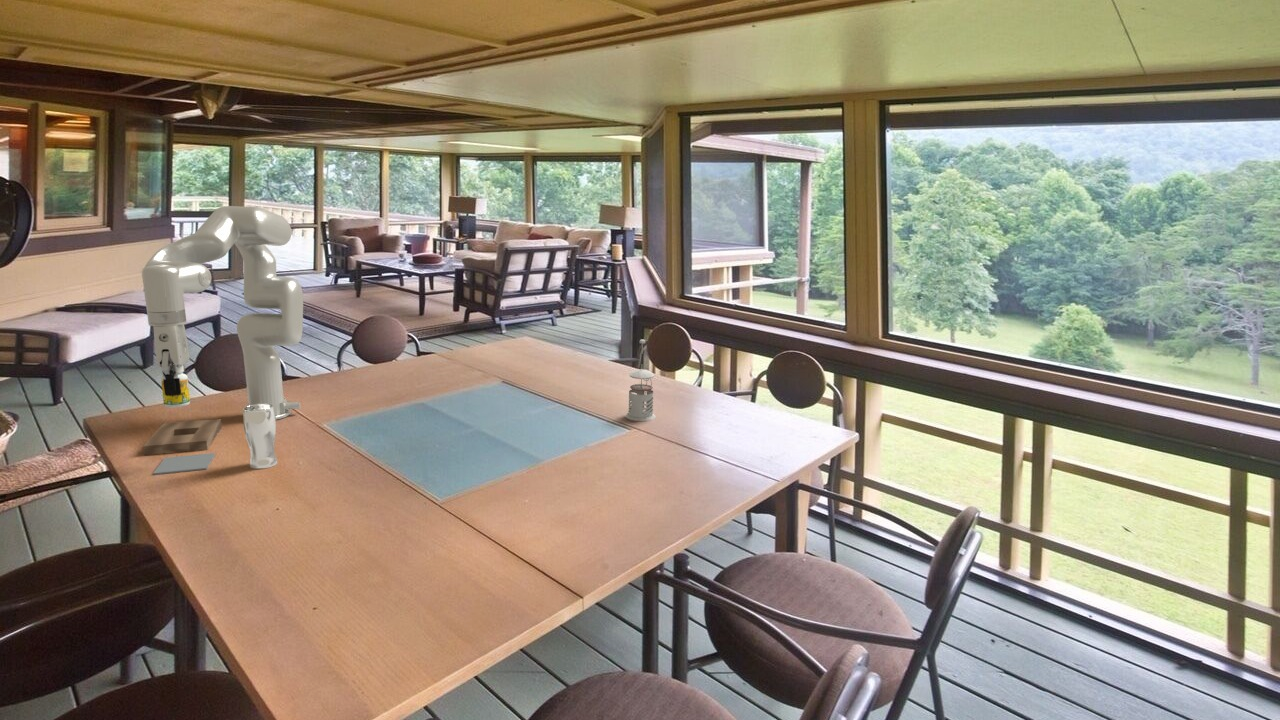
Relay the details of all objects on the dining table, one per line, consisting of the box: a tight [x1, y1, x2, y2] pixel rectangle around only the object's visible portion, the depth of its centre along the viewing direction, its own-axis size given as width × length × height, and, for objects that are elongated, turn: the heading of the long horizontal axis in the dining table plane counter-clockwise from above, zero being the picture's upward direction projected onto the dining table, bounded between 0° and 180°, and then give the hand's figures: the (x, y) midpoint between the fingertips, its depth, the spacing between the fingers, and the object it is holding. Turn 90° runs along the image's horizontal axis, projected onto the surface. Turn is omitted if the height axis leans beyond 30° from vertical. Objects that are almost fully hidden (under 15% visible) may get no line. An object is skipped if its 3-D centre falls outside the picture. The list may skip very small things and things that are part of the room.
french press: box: [625, 339, 657, 422], centre depth 219 cm, size 10×12×25 cm
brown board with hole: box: [143, 418, 222, 456], centre depth 189 cm, size 14×20×2 cm
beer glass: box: [242, 403, 278, 470], centre depth 172 cm, size 7×7×15 cm
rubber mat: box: [152, 452, 216, 476], centre depth 172 cm, size 11×11×1 cm
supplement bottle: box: [161, 364, 191, 408], centre depth 168 cm, size 5×5×10 cm
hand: (176, 390), depth 168 cm, fingers closed on supplement bottle, 5 cm apart
